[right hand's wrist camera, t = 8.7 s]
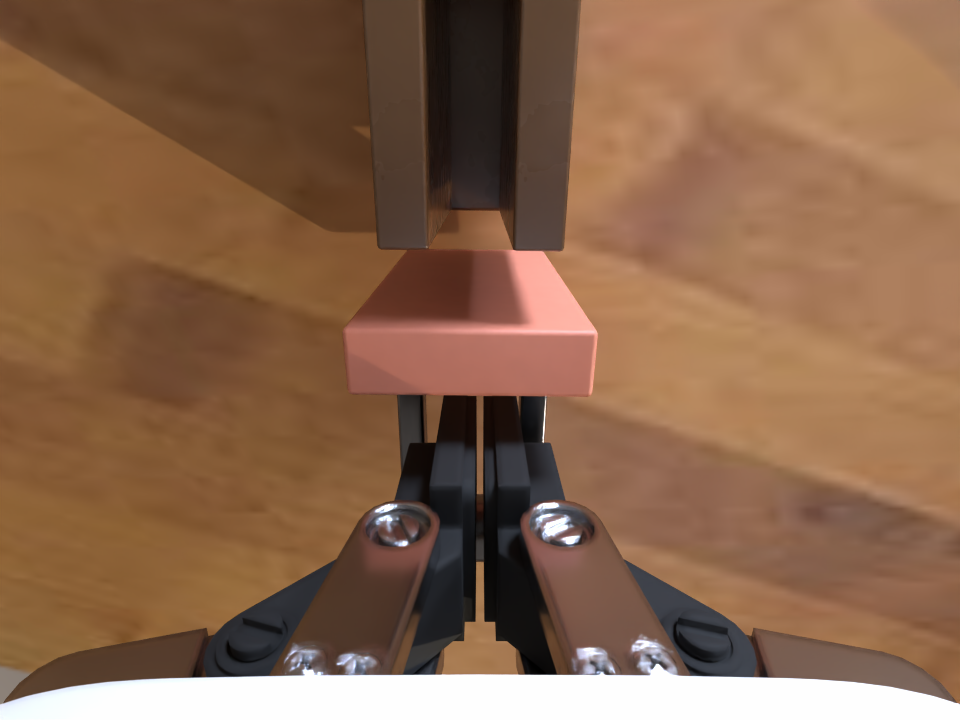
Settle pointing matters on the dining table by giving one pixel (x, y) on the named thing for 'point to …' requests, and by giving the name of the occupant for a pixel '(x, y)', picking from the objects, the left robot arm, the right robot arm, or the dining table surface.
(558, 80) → the drawer
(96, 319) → the dining table surface
